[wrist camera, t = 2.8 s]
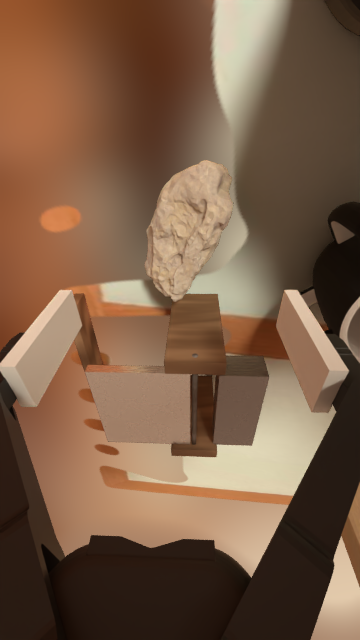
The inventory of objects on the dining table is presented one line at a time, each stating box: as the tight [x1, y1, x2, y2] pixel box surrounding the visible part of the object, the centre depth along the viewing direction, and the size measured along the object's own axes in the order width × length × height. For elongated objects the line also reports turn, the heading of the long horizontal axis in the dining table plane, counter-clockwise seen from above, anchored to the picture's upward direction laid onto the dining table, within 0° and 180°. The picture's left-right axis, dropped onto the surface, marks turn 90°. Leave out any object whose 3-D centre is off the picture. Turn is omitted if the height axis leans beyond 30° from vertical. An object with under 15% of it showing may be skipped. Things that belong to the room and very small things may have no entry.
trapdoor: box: [85, 356, 269, 446], centre depth 33 cm, size 13×19×3 cm
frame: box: [74, 294, 227, 457], centre depth 36 cm, size 18×20×13 cm
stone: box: [145, 160, 234, 302], centre depth 28 cm, size 8×12×10 cm
